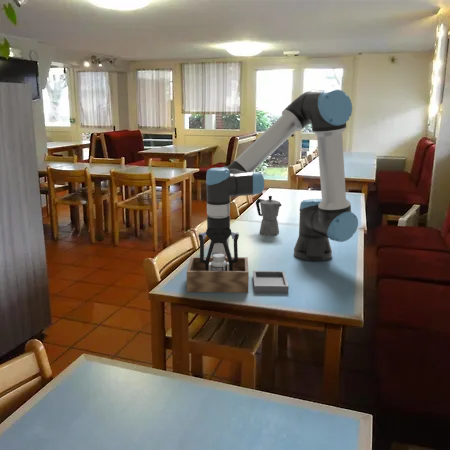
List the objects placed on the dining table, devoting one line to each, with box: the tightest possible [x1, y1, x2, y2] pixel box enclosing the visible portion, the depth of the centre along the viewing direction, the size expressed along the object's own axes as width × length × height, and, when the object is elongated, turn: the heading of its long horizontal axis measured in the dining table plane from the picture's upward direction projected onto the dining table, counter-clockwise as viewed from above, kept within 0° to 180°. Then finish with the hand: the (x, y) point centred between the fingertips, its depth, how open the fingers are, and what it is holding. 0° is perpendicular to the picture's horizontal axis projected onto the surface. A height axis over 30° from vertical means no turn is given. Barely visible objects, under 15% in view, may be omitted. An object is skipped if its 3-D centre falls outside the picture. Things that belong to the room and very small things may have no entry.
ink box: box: [211, 238, 230, 257], centre depth 173 cm, size 9×5×12 cm, turn 168°
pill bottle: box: [211, 254, 227, 271], centre depth 156 cm, size 5×5×10 cm
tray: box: [252, 270, 290, 294], centre depth 156 cm, size 11×14×2 cm
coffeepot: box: [255, 195, 282, 236], centre depth 217 cm, size 15×9×18 cm, turn 44°
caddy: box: [186, 256, 250, 294], centre depth 156 cm, size 20×15×7 cm
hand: (219, 281), depth 157 cm, fingers closed on pill bottle, 5 cm apart
